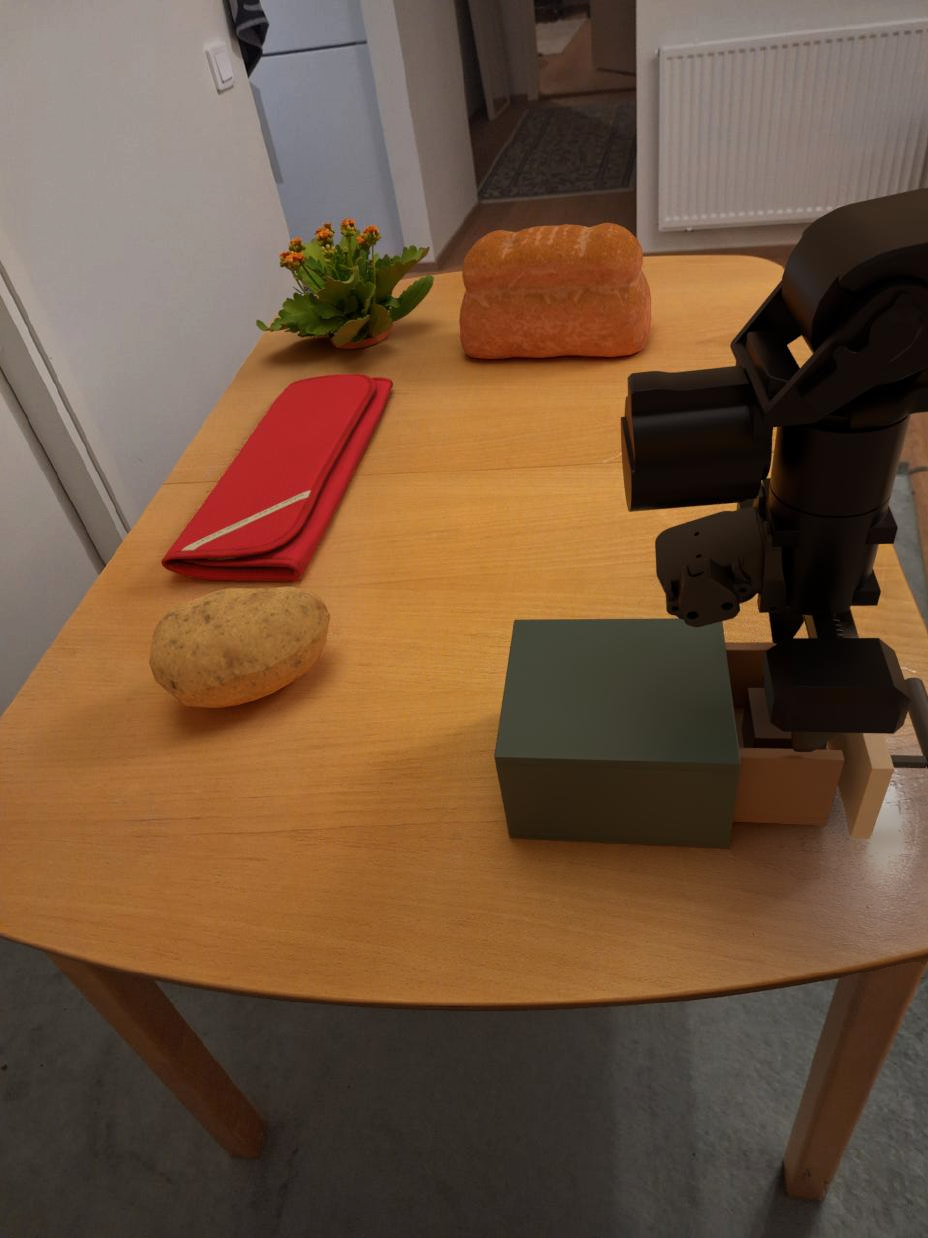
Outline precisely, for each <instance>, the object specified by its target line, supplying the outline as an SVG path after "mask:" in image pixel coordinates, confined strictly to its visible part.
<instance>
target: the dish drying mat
mask: <svg viewBox="0 0 928 1238" xmlns="http://www.w3.org/2000/svg"><path fill="white" fill-rule="evenodd" d="M393 388H394V382H393V380H392V379H391V378H387V377H383V376H381V377H380V376H378V377H377V376H375V377H370V376H368V375H366V374H363V373H339V374H336V373H335V374H326V375H319V376H313V377H308V378H303V379H300V380H296V381H293V382H291V383H290V384H288V385H287V386H286V387H285V388H284V389H283V391H282V392H281V393H280V394H279V395H278V396H277V397H276V398H275V399H274V401H273V402H272V403H271V405H270V407H269V408H268V409H267V411H266V413H265V414H264V416H263V417H262V418H261V420H260V421H259V423H258V424H257V426H256V427H255V428H254V430H253V431H252V433H250V435H249V437H248V438H247V440H246V441H245V443H244V444H243V445H242V447H241V448H240V450H239V452H238V453H237V455H236V456H235V457H234V459H233V460H232V462H231V463H230V464H229V466H228V467H227V468H226V470H225V471H224V473H223V475H221V477H220V479H219V480H218V481H217V483H216V484H215V486H214V487H213V488H212V490H211V491H210V493H209V494H208V495H207V497H206V498H205V500H204V501H203V503H202V504H201V505H200V507H199V508H198V509H197V511H196V512H195V513H194V515H193V516H192V518H191V519H190V520H189V522H188V523H187V524H186V526H185V527H184V529H183V530H182V531H181V532H180V534H179V536H178V537H177V538H176V540H175V541H174V542H173V543H172V545H171V547H170V548H169V549H168V550H167V552H166V554H165V555H164V556H163V558H162V559H161V561H160V564H161V565H162V567H163V568H165V569H166V570H168V571H170V572H172V573H173V574H178V575H182V576H183V577H184V576H185V577H189V578H193V579H200V580H208V581H209V580H210V581H243V582H244V581H250V582H251V581H253V582H254V581H255V582H256V581H257V582H258V581H259V582H260V581H261V582H288V583H289V582H296V581H298V580H299V579H300V578H301V576H302V575H303V573H304V572H305V570H306V568H307V566H308V564H309V563H310V560H311V558H312V557H313V555H314V553H315V552H316V550H317V548H318V546H319V544H320V542H321V540H322V539H323V536H325V533H326V531H327V529H328V527H329V525H330V523H331V522H332V519H333V517H334V515H335V513H336V511H337V509H338V507H339V505H340V504H341V501H342V499H343V497H344V495H345V493H346V490H347V489H348V486H349V484H350V482H351V479H352V477H353V475H354V473H355V472H356V469H357V467H358V466H359V463H360V462H361V460H362V457H363V455H364V453H365V451H366V450H367V447H368V445H369V443H370V441H371V439H372V436H373V435H374V432H375V430H376V427H377V426H378V423H379V422H380V420H381V417H382V416H383V413H384V410H385V407H386V405H387V402H388V399H389V397H390V394H391V392H392V389H393Z"/></svg>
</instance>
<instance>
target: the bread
mask: <svg viewBox="0 0 928 1238" xmlns="http://www.w3.org/2000/svg"><path fill="white" fill-rule="evenodd" d="M643 264H644V254H643V247H642V245H641V243H640V241H639V239H638V238H637V237H636V236H635V235H634V234H632V232H631V231H630V230H629V229H627V228H626V227H624V226H622V225H620V224H616V223H611V222H602V223H600V224H597V225H593V226H585V225H580V224H568V223H564V224H560V225H537V226H532V227H528V228H524V229H521V230H519V231H510V230H505V229H498V230H494V231H490V232H489V233H487V234H484V236H482V237H480V238H479V239H478V240H477V241H476V242H475V243H474V245H472V246H471V247H470V249H469V251H468V252H467V254H466V256H465V257H464V259H463V264H462V282H463V285H464V289H465V291H464V294H463V298H462V301H461V304H460V309H459V319H458V324H459V339H460V343H461V347H462V349H463V350H464V352H465V354H466V355H467V356H469V357H471V358H473V359H483V360H503V359H511V358H535V359H536V358H537V359H538V358H540V359H541V358H542V359H543V358H554V357H565V356H575V357H606V358H607V357H608V358H613V357H622V356H630V355H633V354H636V353H638V352H640V351H642V350H643V349H644V347H645V345H646V344H647V341H648V338H649V333H650V328H651V323H652V296H651V295H652V294H651V287H650V285H649V282H648V280H647V277H646V275H645V274H644V271H643V270H642V267H643Z"/></svg>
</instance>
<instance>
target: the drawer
mask: <svg viewBox="0 0 928 1238" xmlns="http://www.w3.org/2000/svg"><path fill="white" fill-rule="evenodd" d="M725 645H726V653H727V661H728V668H729V676H730V684H731V692H732V699H733V707H734V715H735V723H736V730H737V738H738V746H739V754H740V761H741V766H740V774H739V781H738V788H737V795H736V803H735V810H734V817H733V823H734V822H735V823H736V822H737V823H757V824H758V823H759V824H760V823H761V824H783V825H784V824H785V825H787V824H788V825H805V826H806V825H808V826H809V825H810V826H827V825H828V822H829V819H830V818H829V817H830V816H831V815H830V814H831V810H832V808H833V803H834V800H835V796H836V793H837V789H838V791H839V795H840V800H841V805H842V809H843V814H844V818H845V822H846V826H847V831H848V835H849V838H850V839H852V840H853V839H855V840H856V839H857V840H871V838H872V836H873V832H874V830H875V827H876V824H877V821H878V817H879V815H880V812H881V809H882V807H883V804H884V800H885V797H886V795H887V792H888V788H889V786H890V783H891V780H892V778H893V775H894V772H895V769H918V770H919V769H921V770H922V769H924V770H925V769H926V770H928V691H927V688H926V686H925V684H924V681H923V680H922V679H921V678H919V677H908V678H904V679H905V682H906V685H907V688H908V691H909V694H910V697H911V700H912V701H911V704H910V707H909V710H908V715H909V719H910V721H911V725H912V728H913V730H914V733H915V736H916V739H917V742H918V746H919V748H920V751H921V754H922V755H912V754H911V755H910V754H907V755H906V754H891V753H890V749H889V747H888V742H887V740H886V736H885V734H875V733H840V734H839V735H837V736H836V737H834V738H833V739H831V740H830V741H828V742H827V744H828V748H829V749H825V750H814V751H813V752H795V751H794V750H793V749H772V748H744V743H743V736H742V722H743V714H744V707H745V699H746V692H747V688H764V683H763V676H764V659H765V653H766V650H768V649H770V648H771V647H773V646H774V645H776V644H775V643H773V641H772V642H770V641H769V642H767V641H765V642H764V641H763V642H761V641H759V642H758V641H756V642H755V641H753V642H751V641H749V642H746V641H745V642H744V641H743V642H740V641H739V642H738V641H737V642H734V641H733V642H731V641H730V642H729V641H728V642H726V641H725Z"/></svg>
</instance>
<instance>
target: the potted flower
mask: <svg viewBox="0 0 928 1238" xmlns="http://www.w3.org/2000/svg"><path fill="white" fill-rule="evenodd" d="M356 223H357V222H356V221H355V220H354V219H352V218H351V219H350V218H345V219H344V220H342V221H341V222H340V223H339V224H340V229H339V230H340V231H339V232H340V234H341V235H342V236H341V238H340V241H339V242H338V243H339V244H338V243H336V245H335V240H334V236H335V233H336V230H335V229H334V228H333V227H332V222H323V223H321V225H319V227H318V229H316V230H315V232H314V235H315V237H313V238H312V239H310V242H302V238H300V237H295V238H291V239H290V241H289V244H288V251H286V250H285V251H283V252H281V253H280V254H279V255H278V257H279V260H280V261H279V267H280V268H286V269H287V270H289V271H290V272H291V274H292V277H293V278H294V280H295V282H296V284H297V285H298V287H299V288H300V289H298V288H296V287H295V286H292V288H293V289H294V290H295V291H296V292H295V291H294V292H293V294H292V298H290V297H286V299H285V301H283V303H282V304H281V307H282V309H280V310H278V312H277V313H278V316H279V317H275V319H273V322H271V323H270V326H269V327H268V326H267V325H266V324H265V323H264V322H263V321H262V320H260V319H256V321H255V326H257V328H258V329H259V330H261V331H262V332H267V331H269V332H271V333H273V332H279V331H284V333H292V334H297V336H298V337H300V338H312V337H313V338H314V337H322V336H325V337H327V336H328V337H329V340H330V343H332V346H334V347H336V348H337V349H345V350H347V349H348V350H356V349H362V348H367V347H371V346H374V345H376V344H379V343H381V342H382V341H384V340H386V339H387V338H388V337H389V336H390V335H391V332H392V327H393V326H394V325H393V324H394V322H397V321H400V320H401V319H403V318H405V317H407V316H408V315H409V314H411V313H412V312H413V311H414V310H415V309H416V308H417V307H418V306H419V305H420V304H421V303H422V302H423V300H424V299H425V298H426V297H427V296H428V294H429V293H430V291H431V289H432V288H433V286H434V281H435V277H434V276H433V275H431V274H428V275H426V276H422V277H420V278H418V280H414V282H413V283H412V284H410V285H408V286H407V287H406V289H404V290H403V291H402V292H401V294H399V296H398V297H394V296H393V291H394V289H395V288H396V286H397V285H398V283H399V282H400V281H401V280H402V279H403V278H404V277H405V276H406V275H407V274H408V272H409V271H410V270H412V269H413V268H414V267H415V266H416V265H417V264H418V263H420V262H421V261H422V260H423V259H425V257H427V256H428V255H429V251H430V249H431V248H430V246H427V247H422V246H420V247H419V248H418V249H417V246H416V245H413V244H411V245H409V247H407V246H406V245H405V246H404V247H403V249H402V253H401V256H400V254H399V255H398V254H396V255H394V256H393V257H392V259H391V257H390V255H389V254H388V253H385V254H384V255H383V257H382V258H381V257H380V254H379V252H378V251H377V252H375V251H374V250H375V249H374V248H375V246H377V242H379V241H380V240H381V239H382V235H380V234H381V232H380V229H379V227H378V226H376V225H375V224H371V225H369V226H366V227H364V230H363V232H361V230H360V229H357V226H356ZM322 225H323V226H322ZM370 254H371V261H370V259H369V258H370ZM369 265H370V266H369ZM300 282H301V283H302V284H303V285H304V286H305V287H307V288H308V290H305V289H304V287H303V285H302V284H301V283H300ZM300 290H301V291H300Z"/></svg>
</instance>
